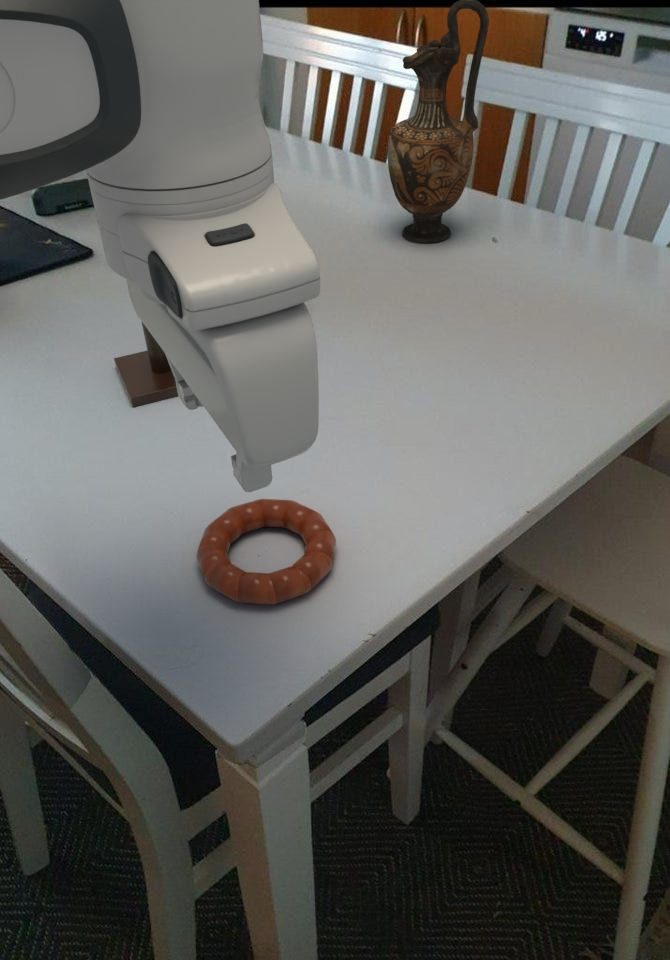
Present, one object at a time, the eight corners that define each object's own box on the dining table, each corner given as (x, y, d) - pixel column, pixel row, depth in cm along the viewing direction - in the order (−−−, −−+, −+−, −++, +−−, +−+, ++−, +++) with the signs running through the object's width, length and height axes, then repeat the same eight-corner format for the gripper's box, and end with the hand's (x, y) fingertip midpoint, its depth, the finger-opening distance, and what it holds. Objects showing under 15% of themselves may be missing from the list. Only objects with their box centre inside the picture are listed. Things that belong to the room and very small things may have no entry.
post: (132, 407, 86) (106, 293, 77) (115, 367, 92) (89, 257, 84) (214, 387, 88) (197, 274, 80) (192, 349, 95) (174, 241, 86)
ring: (223, 628, 62) (219, 607, 60) (185, 536, 70) (180, 516, 68) (356, 582, 65) (356, 561, 63) (305, 500, 73) (304, 480, 72)
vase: (396, 216, 124) (400, -11, 104) (477, 222, 121) (496, -10, 102) (378, 247, 115) (378, 6, 96) (465, 255, 112) (483, 8, 93)
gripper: (75, 170, 47) (123, 375, 55) (199, 315, 32) (238, 560, 41) (179, 150, 49) (210, 351, 57) (339, 278, 35) (347, 518, 43)
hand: (222, 439), depth 49 cm, fingers open, 8 cm apart
